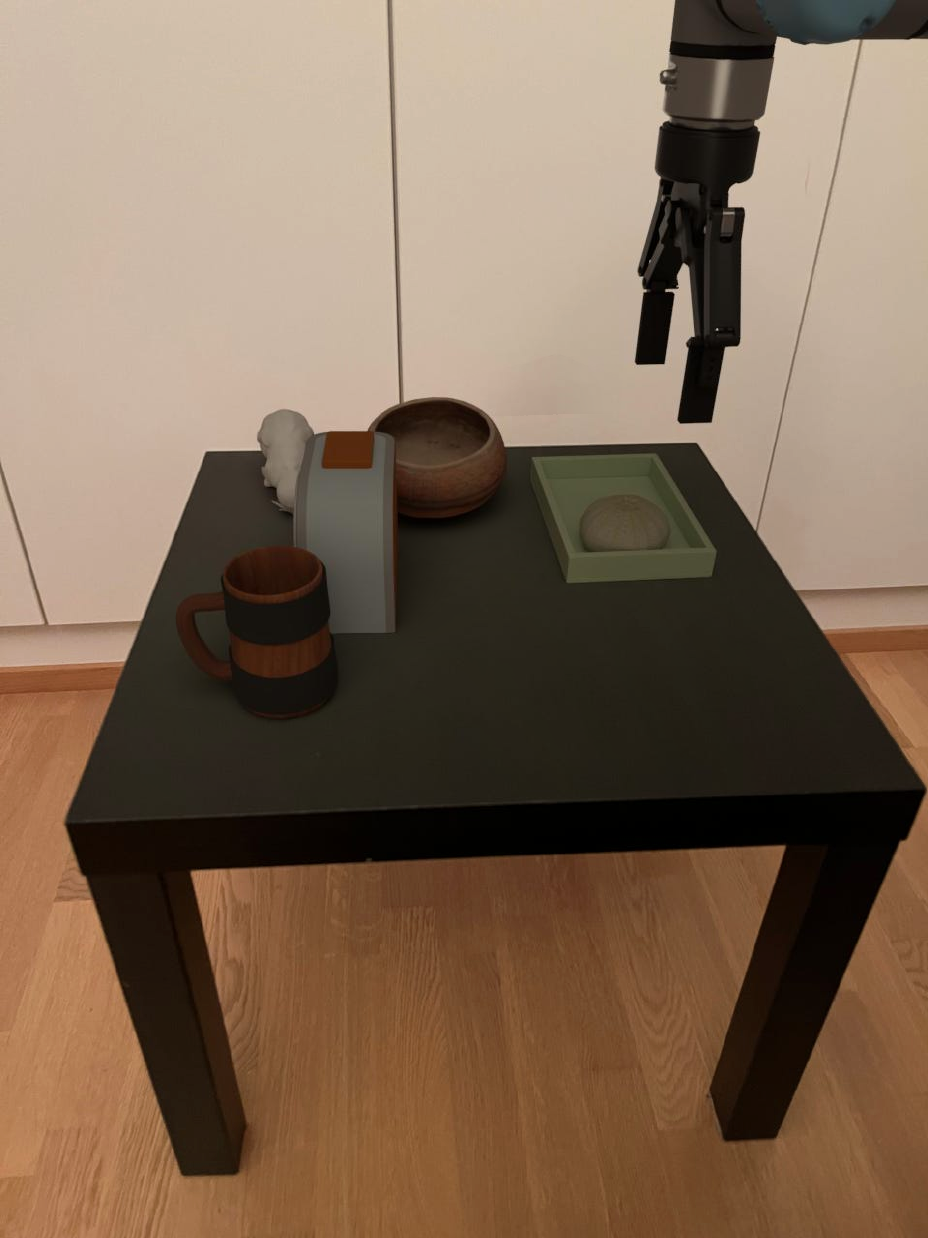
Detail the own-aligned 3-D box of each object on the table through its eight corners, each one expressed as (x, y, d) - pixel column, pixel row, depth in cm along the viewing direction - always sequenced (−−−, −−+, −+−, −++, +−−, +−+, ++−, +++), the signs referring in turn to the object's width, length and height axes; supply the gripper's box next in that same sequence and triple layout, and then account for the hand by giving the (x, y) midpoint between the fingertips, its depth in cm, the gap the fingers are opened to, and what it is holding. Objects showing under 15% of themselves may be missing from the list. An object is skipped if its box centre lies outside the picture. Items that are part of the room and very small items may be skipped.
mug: (190, 669, 80) (168, 551, 74) (331, 650, 83) (322, 535, 76) (191, 737, 74) (167, 615, 67) (345, 714, 76) (337, 594, 69)
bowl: (346, 531, 99) (341, 444, 94) (380, 465, 112) (377, 384, 106) (494, 546, 98) (498, 458, 92) (512, 477, 110) (516, 395, 104)
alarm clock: (315, 546, 97) (304, 423, 89) (398, 546, 97) (395, 423, 89) (300, 633, 85) (287, 499, 77) (396, 632, 85) (392, 499, 77)
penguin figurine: (310, 400, 105) (323, 456, 96) (315, 466, 111) (328, 525, 102) (252, 404, 104) (260, 461, 95) (260, 470, 110) (268, 531, 101)
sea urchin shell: (695, 532, 96) (662, 497, 90) (647, 595, 96) (611, 565, 90) (633, 495, 102) (599, 460, 96) (588, 555, 102) (551, 523, 96)
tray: (711, 577, 94) (717, 551, 92) (566, 583, 92) (569, 557, 90) (652, 476, 111) (656, 452, 109) (530, 480, 110) (531, 456, 108)
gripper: (621, 99, 81) (597, 343, 93) (716, 149, 61) (670, 452, 73) (706, 100, 82) (670, 342, 94) (828, 149, 62) (763, 449, 74)
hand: (670, 390), depth 84 cm, fingers open, 13 cm apart
